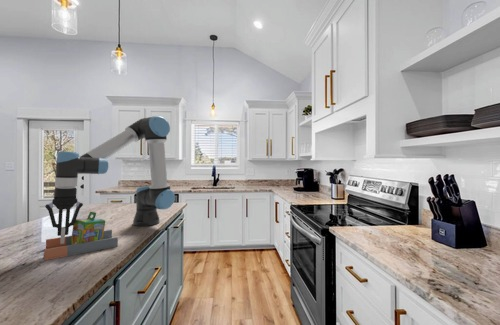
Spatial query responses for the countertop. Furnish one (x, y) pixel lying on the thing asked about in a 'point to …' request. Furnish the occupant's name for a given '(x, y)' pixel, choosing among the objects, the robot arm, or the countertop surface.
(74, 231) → the chalk box
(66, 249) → the channel
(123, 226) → the countertop surface
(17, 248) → the countertop surface
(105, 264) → the countertop surface
